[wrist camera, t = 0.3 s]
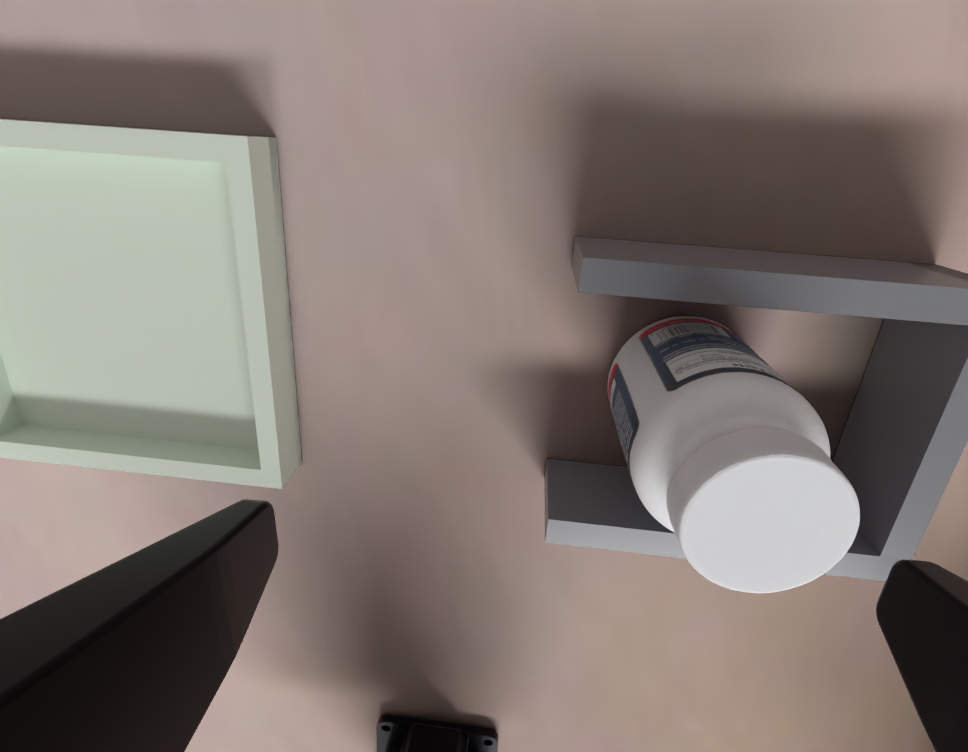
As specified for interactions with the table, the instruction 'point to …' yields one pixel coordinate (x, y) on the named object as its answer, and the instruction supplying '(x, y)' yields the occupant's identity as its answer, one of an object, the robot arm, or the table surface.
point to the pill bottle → (729, 457)
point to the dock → (875, 412)
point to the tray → (145, 303)
